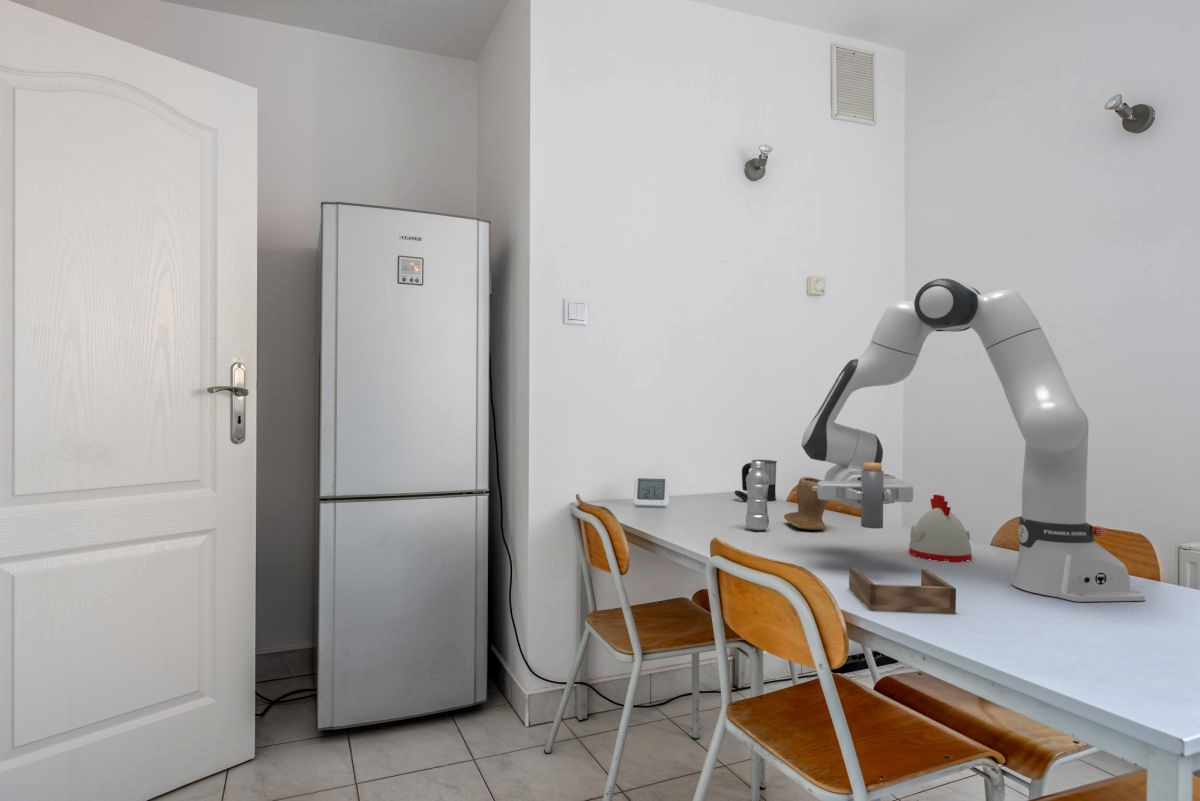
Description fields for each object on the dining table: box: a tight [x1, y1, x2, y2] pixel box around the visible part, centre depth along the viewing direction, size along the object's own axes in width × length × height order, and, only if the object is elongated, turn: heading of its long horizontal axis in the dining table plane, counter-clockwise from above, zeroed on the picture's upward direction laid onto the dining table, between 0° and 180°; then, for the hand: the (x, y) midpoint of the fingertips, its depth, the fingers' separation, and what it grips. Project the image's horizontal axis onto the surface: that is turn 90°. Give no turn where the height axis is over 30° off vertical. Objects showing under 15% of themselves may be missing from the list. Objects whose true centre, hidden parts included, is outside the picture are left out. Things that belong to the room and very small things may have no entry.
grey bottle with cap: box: [860, 462, 884, 530], centre depth 150 cm, size 4×4×14 cm
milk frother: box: [734, 459, 778, 502], centre depth 264 cm, size 14×16×15 cm
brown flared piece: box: [783, 476, 830, 531], centre depth 208 cm, size 15×12×15 cm
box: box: [848, 566, 957, 615], centre depth 134 cm, size 15×14×4 cm
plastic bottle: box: [744, 460, 770, 532], centre depth 203 cm, size 6×7×20 cm
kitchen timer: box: [908, 494, 972, 563], centre depth 173 cm, size 14×14×15 cm
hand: (873, 496), depth 149 cm, fingers closed on grey bottle with cap, 4 cm apart
